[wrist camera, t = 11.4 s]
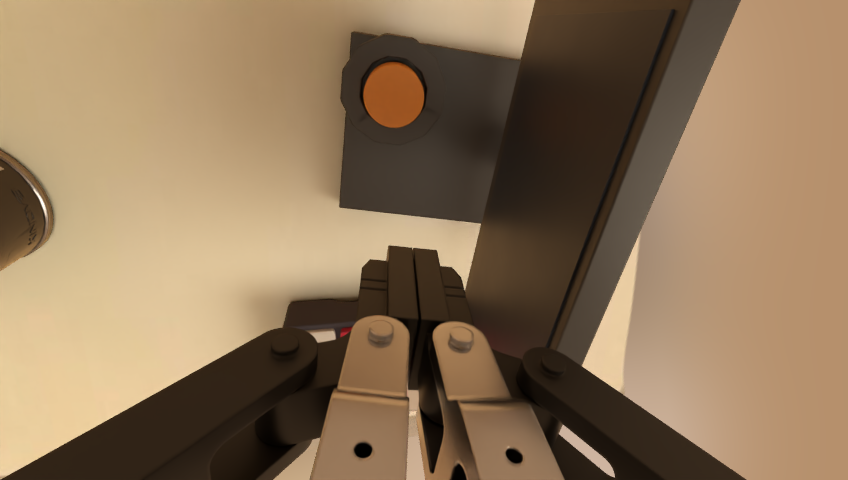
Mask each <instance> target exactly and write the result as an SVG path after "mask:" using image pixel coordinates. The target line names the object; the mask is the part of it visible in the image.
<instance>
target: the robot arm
mask: <svg viewBox="0 0 848 480" xmlns="http://www.w3.org/2000/svg"><path fill="white" fill-rule="evenodd" d="M52 228H53V212H52V207H51V204H50V201H49V199H48V197H47V195H46V193H45V191H44V190H43V188H42V187H41V185H40V184H39V182H38V181H37V180H36V179H35V177H34V176H33V175H32V174H31V173H30V172H29V171H28V170H27V169H26V168H25V167H24V166H22V165H21V164H20V163H19V162H18V161H16V160H15V159H13V158H12V157H11V156H9V155H7V154H6V153H4V152H3V151H1V150H0V271H1V270H3V269H4V268H6V267H7V266H9V265H11V264H12V263H14V262H15V261H17V260H18V259H20V258H22V257H25V256H27V255H29V254H31V253H32V252H34V251H35V250H37V249H38V248H40V247H41V246H42V245H43V244H44V243H45V242H46V241H47V239H48V238H49V236H50V234H51V231H52ZM407 381H408V390H417V391H418V392H419V402H418V407H417V412H416V421H417V427H418V434H419V440H420V447H421V454H422V460H423V467H424V473H425V480H746V479H745V478H743V477H742V476H740V475H739V474H737V473H736V472H734V471H733V470H732V469H730V468H729V467H727V466H726V465H724V464H723V463H721V462H720V461H718V460H717V459H715V458H714V457H712V456H711V455H710V454H708V453H707V452H705V451H704V450H702V449H701V448H700V447H698V446H696V445H695V444H694V443H692V442H691V441H689V440H688V439H686V438H685V437H684V436H682V435H681V434H679V433H678V432H676V431H675V430H673V429H672V428H670V427H669V426H667V425H666V424H665V423H663V422H662V421H660V420H659V419H657V418H656V417H655V416H653V415H652V414H650V413H649V412H647V411H646V410H644V409H643V408H641V407H640V406H638V405H637V404H635V403H634V402H633V401H631V400H630V399H628V398H627V397H625V396H624V395H623V394H621V393H620V392H618V391H617V390H615V389H614V388H612V387H611V386H609V385H608V384H607V383H605V382H604V381H602V380H601V379H599V378H598V377H596V376H595V375H593V374H592V373H591V372H589V371H588V370H586V369H585V368H583V367H582V366H580V365H579V364H577V363H576V362H575V361H573V360H572V359H570V358H569V357H567V356H566V355H564V354H562V353H560V352H558V351H556V350H553V349H550V348H545V347H535V348H531V349H529V350H527V351H526V352H525V353H524V355H523V358H522V359H520V358H517V357H513V356H510V355H507V354H504V353H501V352H498V351H496V350H494V349H492V348H491V346H490V344H489V342H488V339H487V337H486V336H485V335H484V333H482V332H481V331H480V330H479V329H478V328H476V327H474V323H473V320H472V316H471V312H470V309H469V305H468V301H467V298H466V294H465V290H464V287H463V283H462V279H461V277H460V276H459V275H458V274H457V272H456V271H455V270H454V269H453V268H452V267H442V266H440V263H439V258H438V253H437V250H429V249H419V248H413V250H412V248H409V247H399V246H388V252H387V259H386V261H381V260H371V259H370V260H369V261H368V262H367V263H366V264H365V265H364V266H363V267H362V273H361V282H360V290H359V299H358V307H357V315H356V322H355V324H354V326H353V327H352V330H351V331H350V332H348V333H347V334H346V335H344V336H342V337H340V338H338V339H335V340H330V341H325V342H319V343H317V341H316V339H315V338H314V336H313V335H311V334H310V333H309V332H307V331H305V330H302V329H298V328H292V327H284V328H277V329H273V330H270V331H268V332H266V333H264V334H262V335H260V336H258V337H257V338H255V339H253V340H251V341H249V342H248V343H246V344H244V345H242V346H240V347H239V348H237V349H235V350H233V351H231V352H230V353H228V354H226V355H224V356H222V357H221V358H219V359H217V360H215V361H213V362H212V363H210V364H208V365H206V366H204V367H203V368H201V369H199V370H197V371H195V372H194V373H192V374H190V375H188V376H186V377H185V378H183V379H181V380H179V381H177V382H176V383H174V384H172V385H170V386H168V387H167V388H165V389H163V390H161V391H159V392H158V393H156V394H154V395H152V396H150V397H149V398H147V399H145V400H143V401H141V402H140V403H138V404H136V405H134V406H132V407H131V408H129V409H127V410H125V411H123V412H122V413H120V414H118V415H116V416H114V417H113V418H111V419H109V420H107V421H105V422H104V423H102V424H100V425H98V426H96V427H95V428H93V429H91V430H89V431H87V432H86V433H84V434H82V435H80V436H78V437H77V438H75V439H73V440H71V441H69V442H68V443H66V444H64V445H62V446H60V447H59V448H57V449H55V450H53V451H51V452H50V453H48V454H46V455H44V456H42V457H41V458H39V459H37V460H35V461H33V462H32V463H30V464H28V465H26V466H24V467H23V468H21V469H19V470H17V471H15V472H14V473H12V474H10V475H8V476H6V477H5V478H3V479H1V480H273V479H274V478H275V477H276V476H277V475H279V474H280V473H281V472H282V471H283V470H284V469H285V468H286V467H287V466H289V465H290V464H291V463H292V462H293V461H294V460H295V459H296V458H298V457H299V456H300V455H301V454H302V453H303V452H304V451H305V450H306V449H307V448H308V447H309V445H310V444H311V442H312V439H316V438H320V441H319V445H318V449H317V453H316V457H315V461H314V465H313V468H312V472H311V476H310V480H406V469H407V448H408V425H409V397H407ZM562 425H565V426H566V427H567V428H568V429H570V430H571V431H572V432H573V433H574V434H576V435H577V436H578V437H579V438H581V439H582V440H583V441H584V442H586V443H587V444H588V445H589V446H590V447H592V448H593V449H594V450H595V451H597V452H598V453H599V454H600V455H602V456H603V457H604V458H605V459H606V460H607V461H608V462H609V463H610V465H611V466H612V468H613V470H614V473H615V478H614V477H611V476H609V475H607V474H606V473H605V472H603V471H602V470H601V469H600V468H598V467H597V466H596V465H595V464H594V463H592V462H591V461H590V460H589V459H588V458H587V457H585V456H584V455H583V454H582V453H581V452H579V451H578V450H577V449H576V448H574V447H573V446H572V445H571V444H570V443H569V442H567V441H566V440H565V439H564V438H563V437H561V436H560V435H559V432H560V429H561V427H562Z"/></svg>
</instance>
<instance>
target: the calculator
mask: <svg viewBox="0 0 848 480" xmlns="http://www.w3.org/2000/svg"><path fill="white" fill-rule="evenodd" d="M357 307H358V301H352V302H339V301H336V300H332V299H327V300H315V301H302V302H292V303H290V304H289V306H288V310H287V313H286V317H285V321H284V325H283V328H284V327H292V328H298V329H302V330H305V331H307V332H309V333H310V334H311V335H313V336H314V338H315V339H316V341H317V343H319V342H325V341H330V340H335V339H338V338H340V337H342V336H344V335H346V334H347V333H348V332H350V331H351V330H352V327H353V326H354V324H355V322H356V315H357ZM407 397H409V411H417V407H418V402H419V392H418V391H417V390H408V381H407Z"/></svg>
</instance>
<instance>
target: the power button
mask: <svg viewBox="0 0 848 480" xmlns="http://www.w3.org/2000/svg"><path fill="white" fill-rule="evenodd" d="M363 97H364V104H365V107H366V109H367V111H368V113H369V114H370V116H371V117H372V118H373V119H374V120H375V121H376V122H378V123H379V124H381V125H383V126H386V127H390V128H399V127H403V126H406V125H408V124H410V123H411V122H413V121H414V120H415V119H416V118H417V117H418V115H419V114H420V112H421V110H422V107H423V103H424V90H423V86H422V84H421V82H420V80H419V78H418V76H417V75H416V73H415V72H414V71H413V70H412V69H411V68H410V67H408V66H407V65H405V64H402V63H399V62H386V63H383V64H381V65H379V66H378V67H376V68H375V69H374V70H373V71H372V72H371V73H370V75H369V77H368V79H367V81H366V84H365V87H364V95H363Z"/></svg>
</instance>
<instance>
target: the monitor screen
mask: <svg viewBox="0 0 848 480" xmlns="http://www.w3.org/2000/svg"><path fill="white" fill-rule="evenodd" d="M740 1H741V0H535V4H534V8H533V12H532V16H531V20H530V24H529V28H528V33H527V37H526V41H525V45H524V49H523V53H522V57H521V62H520V66H519V70H518V74H517V78H516V82H515V86H514V91H513V95H512V99H511V103H510V107H509V111H508V115H507V120H506V124H505V128H504V132H503V136H502V140H501V145H500V149H499V153H498V157H497V161H496V165H495V169H494V174H493V178H492V182H491V186H490V190H489V194H488V198H487V203H486V207H485V211H484V215H483V219H482V223H481V227H480V232H479V236H478V240H477V244H476V248H475V252H474V256H473V261H472V265H471V269H470V273H469V277H468V281H467V286H466V290H465V294H466V298H467V301H468V305H469V309H470V312H471V316H472V320H473V323H474V327H476V328H478V329H479V330H480V331H481V332H482V333H484V335H485V336H486V337H487V339H488V342H489V344H490V346H491V348H492V349H494V350H496V351H498V352H501V353H504V354H507V355H510V356H513V357H517V358H520V359H522V358H523V355H524V353H525V352H526V351H527V350H529V349H531V348H535V347H545V348H550V349H553V350H556V351H558V352H560V353H562V354H564V355H566V356H567V357H569V358H570V359H572V360H573V361H575V362H576V363H577V364H579V365H580V366H582V364H583V362H584V359H585V357H586V355H587V352H588V350H589V348H590V346H591V343H592V341H593V339H594V336H595V334H596V332H597V329H598V327H599V325H600V323H601V320H602V318H603V316H604V313H605V311H606V309H607V306H608V304H609V302H610V300H611V297H612V295H613V293H614V290H615V288H616V286H617V284H618V281H619V279H620V277H621V274H622V272H623V270H624V267H625V265H626V263H627V261H628V258H629V256H630V254H631V251H632V249H633V247H634V244H635V242H636V240H637V238H638V235H639V233H640V231H641V228H642V226H643V224H644V221H645V219H646V217H647V215H648V212H649V210H650V208H651V205H652V203H653V201H654V198H655V196H656V194H657V192H658V189H659V187H660V185H661V182H662V180H663V178H664V175H665V173H666V171H667V169H668V166H669V164H670V161H671V159H672V157H673V155H674V153H675V150H676V148H677V146H678V143H679V141H680V139H681V136H682V134H683V132H684V130H685V127H686V125H687V123H688V120H689V118H690V116H691V113H692V111H693V109H694V107H695V104H696V102H697V100H698V97H699V95H700V93H701V90H702V88H703V86H704V83H705V81H706V79H707V76H708V74H709V72H710V70H711V67H712V65H713V63H714V60H715V58H716V56H717V54H718V51H719V49H720V46H721V44H722V42H723V40H724V38H725V35H726V33H727V31H728V28H729V26H730V24H731V22H732V19H733V17H734V15H735V12H736V10H737V7H738V5H739V3H740Z"/></svg>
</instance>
